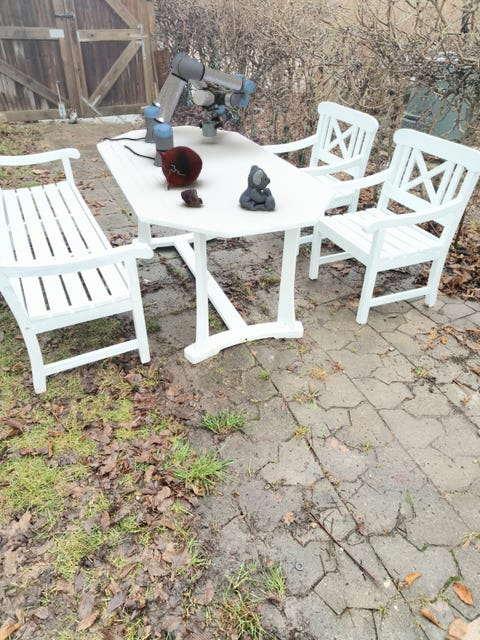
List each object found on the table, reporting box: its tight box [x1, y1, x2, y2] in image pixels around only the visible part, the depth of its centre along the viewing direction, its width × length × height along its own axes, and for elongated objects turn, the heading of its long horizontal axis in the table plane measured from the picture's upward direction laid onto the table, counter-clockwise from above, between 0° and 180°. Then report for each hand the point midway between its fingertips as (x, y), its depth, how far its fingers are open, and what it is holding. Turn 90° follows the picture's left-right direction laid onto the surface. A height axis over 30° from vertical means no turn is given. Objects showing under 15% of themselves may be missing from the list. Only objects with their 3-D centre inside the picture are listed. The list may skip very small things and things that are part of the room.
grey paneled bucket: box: [192, 89, 212, 106], centre depth 314 cm, size 10×10×10 cm
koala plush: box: [238, 164, 276, 211], centre depth 224 cm, size 17×18×20 cm
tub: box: [201, 120, 218, 138], centre depth 332 cm, size 11×11×9 cm
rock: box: [180, 188, 204, 207], centre depth 229 cm, size 12×9×10 cm
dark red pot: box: [158, 145, 203, 191], centre depth 255 cm, size 21×24×25 cm
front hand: (198, 97), depth 317 cm, fingers closed on grey paneled bucket, 10 cm apart
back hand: (207, 127), depth 328 cm, fingers closed on tub, 11 cm apart
